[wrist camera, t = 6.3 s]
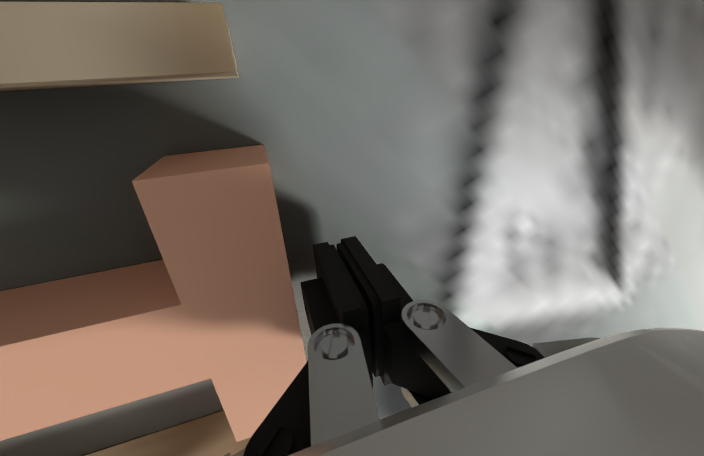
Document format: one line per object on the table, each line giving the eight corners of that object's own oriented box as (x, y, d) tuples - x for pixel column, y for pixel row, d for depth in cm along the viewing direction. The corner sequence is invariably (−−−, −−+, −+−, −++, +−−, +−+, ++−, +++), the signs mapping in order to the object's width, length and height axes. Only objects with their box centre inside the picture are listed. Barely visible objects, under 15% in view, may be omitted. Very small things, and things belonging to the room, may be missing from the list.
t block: (263, 144, 10) (269, 162, 7) (303, 355, 14) (316, 413, 12) (-146, 191, 7) (-360, 245, 5) (55, 430, 12) (0, 525, 9)
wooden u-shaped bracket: (229, 30, 8) (221, 2, 6) (305, 400, 16) (316, 461, 13) (-646, 46, 5) (-1645, -6, 2) (-28, 513, 12) (-103, 627, 9)
